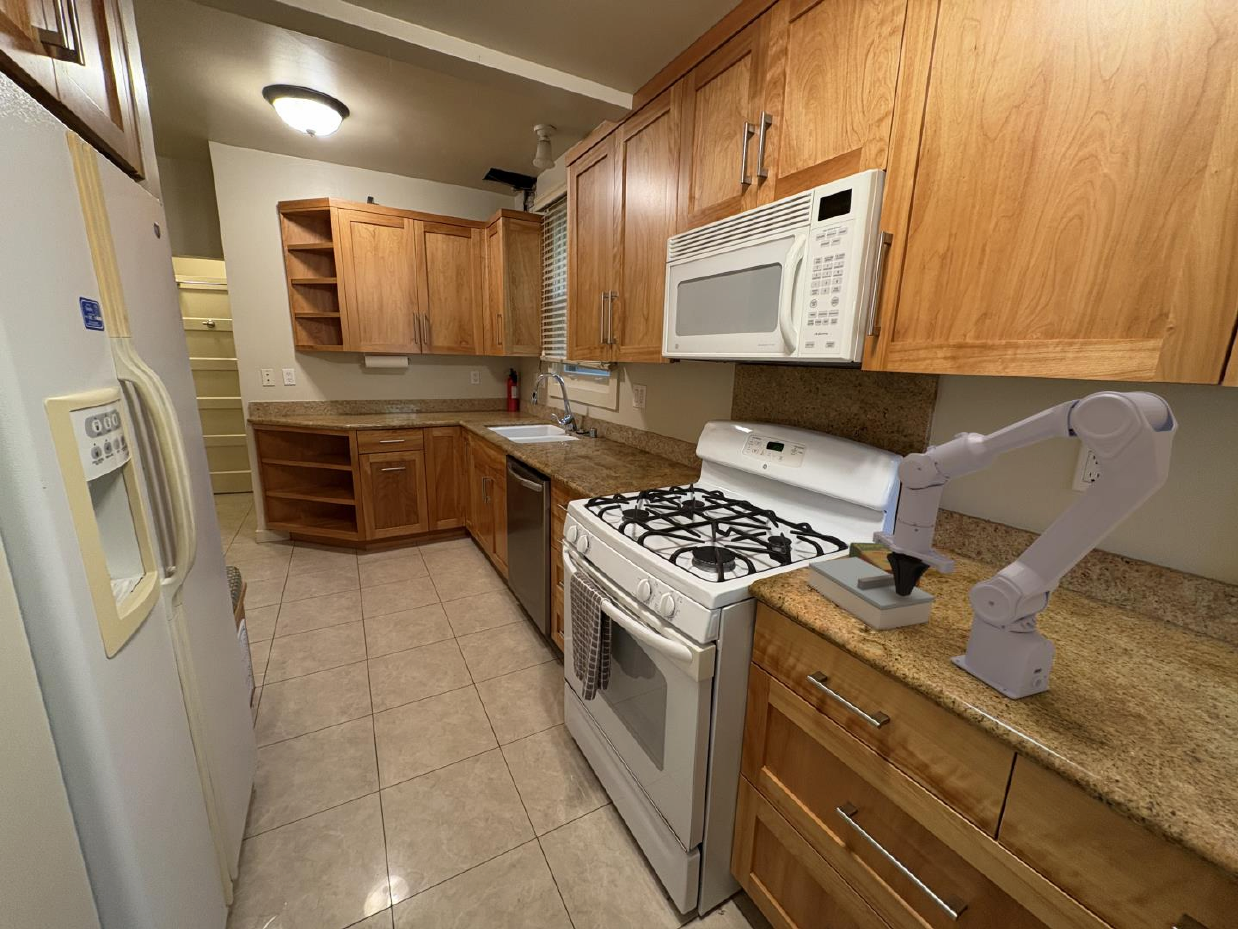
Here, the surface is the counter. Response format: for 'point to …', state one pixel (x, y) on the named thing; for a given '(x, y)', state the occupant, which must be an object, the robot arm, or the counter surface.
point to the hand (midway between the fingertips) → (903, 594)
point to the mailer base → (869, 605)
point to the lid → (868, 582)
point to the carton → (873, 555)
